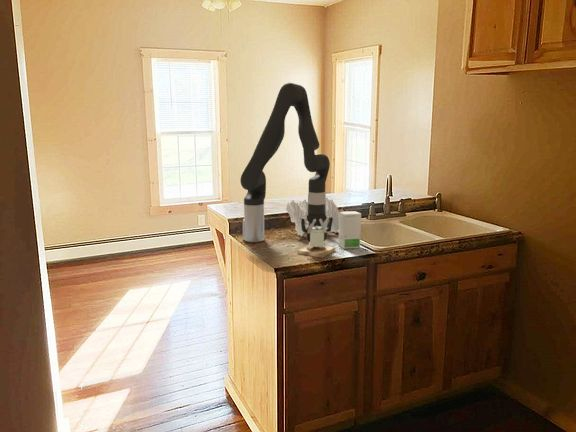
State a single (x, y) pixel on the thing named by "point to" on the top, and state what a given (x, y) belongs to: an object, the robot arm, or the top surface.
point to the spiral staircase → (302, 212)
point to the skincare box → (349, 229)
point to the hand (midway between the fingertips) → (316, 241)
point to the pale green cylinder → (316, 237)
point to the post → (316, 251)
